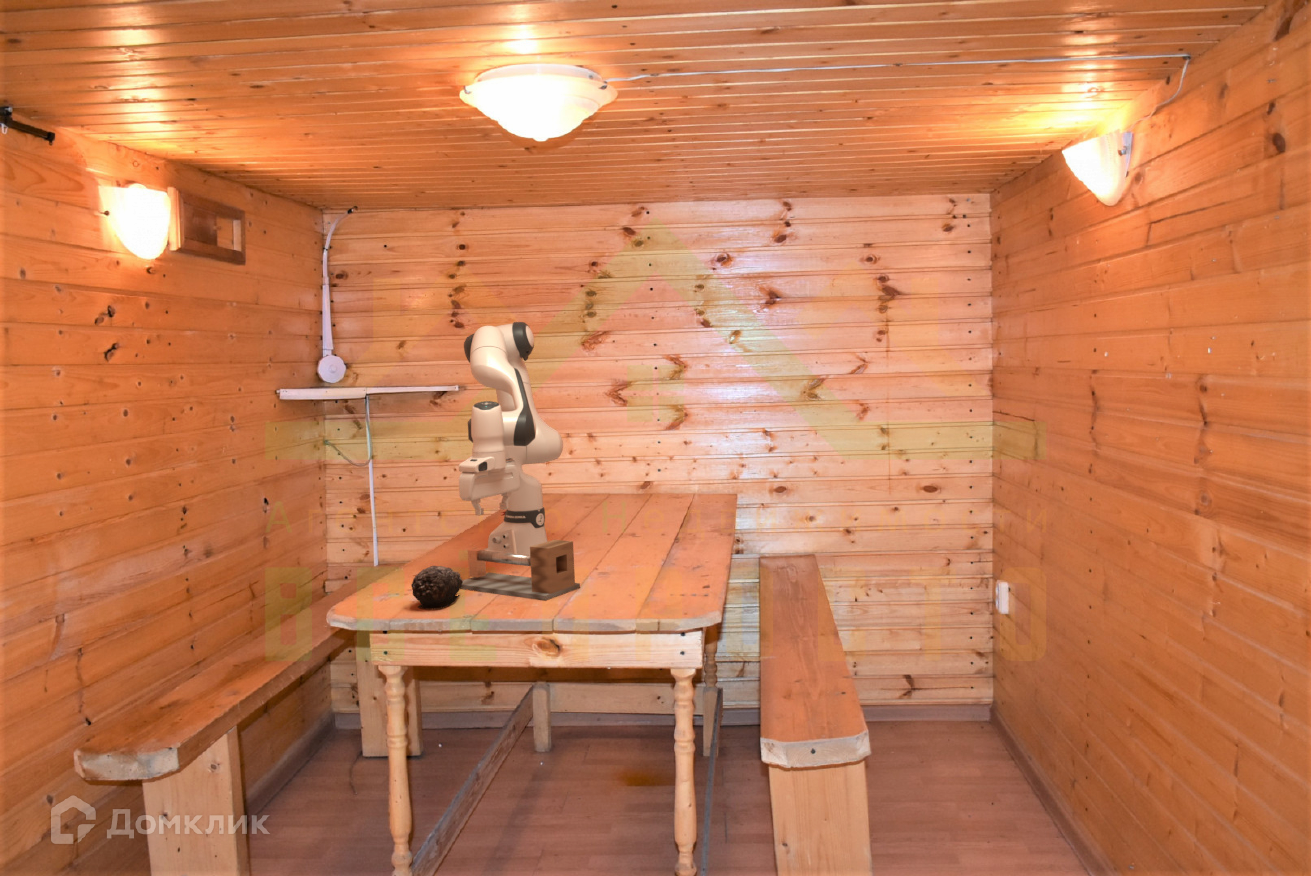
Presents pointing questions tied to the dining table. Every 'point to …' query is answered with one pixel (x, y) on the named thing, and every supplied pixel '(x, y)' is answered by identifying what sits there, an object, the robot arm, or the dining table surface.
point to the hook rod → (492, 560)
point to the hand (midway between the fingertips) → (491, 512)
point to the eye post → (534, 574)
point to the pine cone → (436, 587)
